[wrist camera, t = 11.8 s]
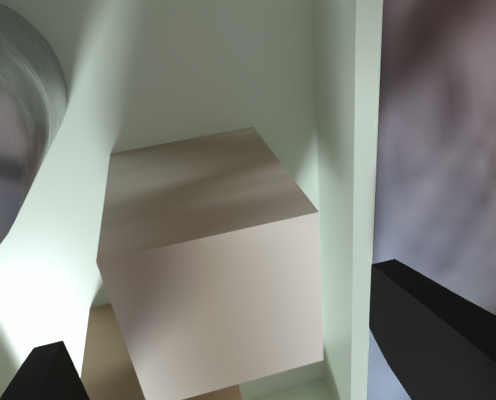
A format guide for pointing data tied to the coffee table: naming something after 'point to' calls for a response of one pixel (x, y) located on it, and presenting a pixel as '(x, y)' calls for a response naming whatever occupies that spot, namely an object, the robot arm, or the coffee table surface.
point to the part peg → (25, 109)
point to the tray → (197, 125)
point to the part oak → (120, 363)
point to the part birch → (210, 264)
